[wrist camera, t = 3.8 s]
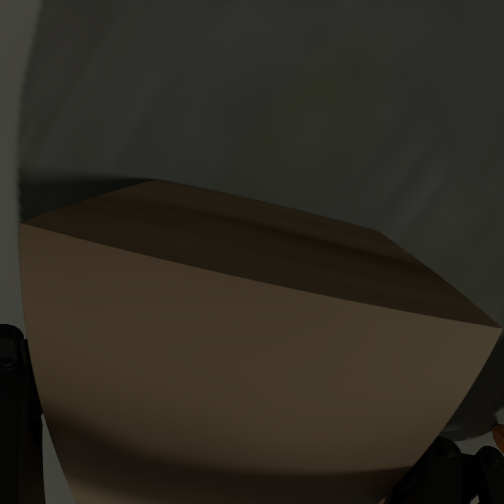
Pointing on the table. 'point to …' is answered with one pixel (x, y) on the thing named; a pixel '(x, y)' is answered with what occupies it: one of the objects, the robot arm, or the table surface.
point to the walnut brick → (237, 349)
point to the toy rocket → (499, 436)
